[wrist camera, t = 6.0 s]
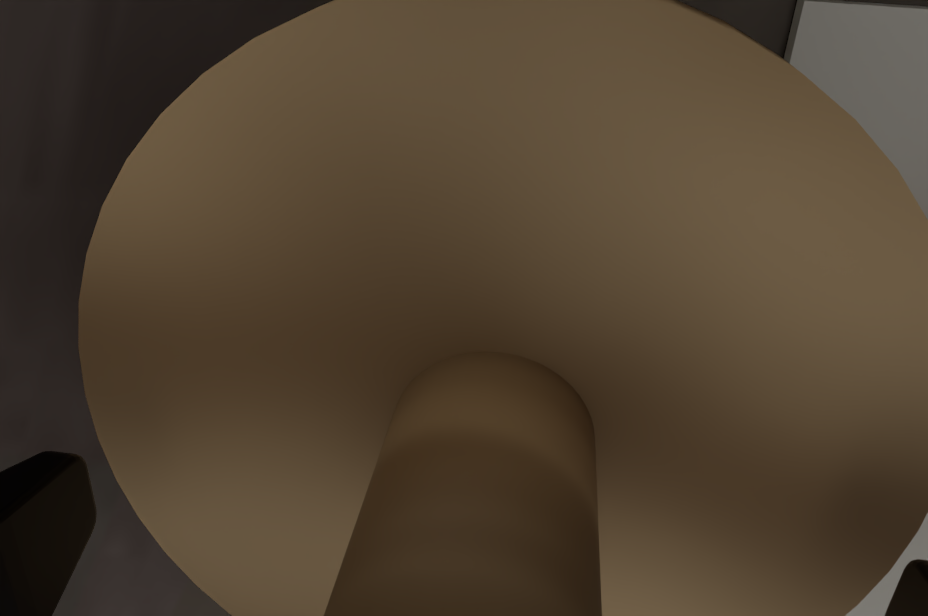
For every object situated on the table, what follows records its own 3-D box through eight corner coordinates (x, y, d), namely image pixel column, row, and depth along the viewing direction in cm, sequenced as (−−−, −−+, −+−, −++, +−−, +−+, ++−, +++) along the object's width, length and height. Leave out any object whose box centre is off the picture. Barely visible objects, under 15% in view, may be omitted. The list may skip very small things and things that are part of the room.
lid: (807, 706, 13) (910, 1056, 9) (171, 620, 14) (14, 904, 10) (1075, -2, 8) (1571, 99, 4) (44, -61, 9) (-377, -25, 5)
